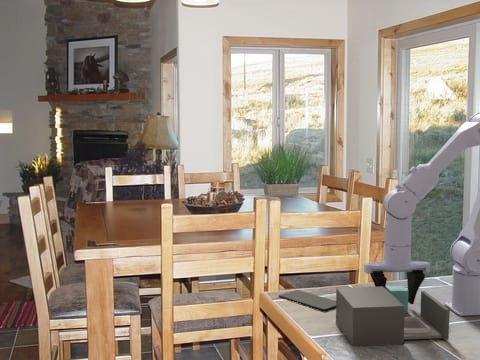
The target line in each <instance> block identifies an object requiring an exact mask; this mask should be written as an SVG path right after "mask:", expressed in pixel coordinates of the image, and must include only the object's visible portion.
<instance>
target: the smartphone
mask: <svg viewBox="0 0 480 360" xmlns="http://www.w3.org/2000/svg"><path fill="white" fill-rule="evenodd" d="M278 298H281V299H284V300H286V299H287V300H286V301H289V300H291V301H290V302H292V301H294V302H293V303H295V302H298V303H301V304H303V305H302V306H304V305H307V306H309V307H308V308H310V307H312V308H311V309H313V308H315V309H314V310H316V309H318V310H317V311H319V310H321V311H320V312H322V311H327V312H329V311H328V310H330V311H332V309H333V310H336V309H335V308H336V300H334V299H332V298H326V297H323V296H321V295H317V294H313V293H311V292H307V291H304V290H299V289H295V290H291V291H287V292H284V293H281V294H279V295H278ZM298 303H297V304H298ZM301 304H300V305H301ZM307 306H306V307H307Z"/></svg>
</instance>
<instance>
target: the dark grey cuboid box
mask: <svg viewBox="0 0 480 360" xmlns="http://www.w3.org/2000/svg"><path fill="white" fill-rule="evenodd" d="M335 295H336V296H335V301H336V309H335V323H336V324H337V326H338V327H339V329H340V330H341V331H342V333H343V334H344V336H345V337H346V339H347V340H348V341H349V342H350V344H351V346H352V347H353V346H354V347H357V346H358V347H360V346H361V347H362V346H381V345H382V346H384V345H404V343H405V341H404V340H405V339H404V317H405V313H406V312H405V306H404V305H403V304H402V303H401V302H400V301H398V300H397V299H396V298H395V297H394V296H393V295H392V294H391V293H389V292H388V291H387V290H386V289H385V288H384V287H383V286H379V287H375V286H357V287H356V286H353V287H351V286H350V287H347V286H346V287H336V291H335Z"/></svg>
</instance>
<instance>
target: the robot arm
mask: <svg viewBox="0 0 480 360" xmlns="http://www.w3.org/2000/svg"><path fill="white" fill-rule="evenodd" d="M478 146H480V112H477V113H474V114H473V115H471V116H470V118H469V119H468V120H467V121H465V122H464V123H462V124H461V125H460V126H459V128H458V129H457V130H456V131H455V132H454V134H453V135H452V136H451V137H450V138H449V139H448V140H447V141H446V142H445V144H444V145H442V147H441V148H440V149H439V150H438V152H437V153H436V154H435V155H434V156H433V157H432V158H431V159H430V160H429V161H428V162H427V163H420V164H418V165H417V166H412V167H411V168H410V169H409V174H407V176H406V177H404V179H403V180H402V181H401V182H400V183H396V184H395V185H394V188H395V189H393V190H390V191H389V192H388V193H386V194H385V195H384V197H383V198H384V200H383V201H382V204H381V205H382V207H383V209H384V210H385V222H384V252H383V255H384V256H383V260H382V261H376V262H367V263H366V262H365V263H364V264H363V272H364V273H365V274H367V275H370V277H371V279H372V282H373V284H374V287H379V286H383V287H384V288H385V287H386V286H387V280H388V278H387V277H386V276H385V274H386V273H406V280H407V290H408V304H409V305H414V304H415V300H416V296H417V293H418V291H419V289H420V287H421V285H422V283H423V282H424V280H425V279H426V274H425V273H430V272H431V263H430V262H428V261H418V260H417V261H416V260H415V261H414V260H411V258H412V255H411V254H412V215H413V214H415V211H416V209H417V204H418V203H420V202H421V201H422V200H423V199H424V198H425V196H427V195H428V194H429V193H430V192H431V190H432V189H433V188H434V187H435V186H437V185H438V183H440V174H441V172H442V171H444V170H445V169H446V168H447V167H448V166H450V165H451V163H453V162H454V161H455V159H457V158H458V157H459V156H460V155H461V154H462V153H463V152H465V150H466V149H469V148H473V147H478ZM469 215H470V216H469V218H468V221H467V224H466V225H465V227H463V228H462V229H461V230H460V232H459V235H458V236H457V239H455V240H454V242H452V244H451V246H450V249H449V254H450V257H451V258H452V260H453V261H454V265H453V266H452V282H451V283H452V284H451V285H452V286H451V301H448V302H447V301H446V302H444V304H443V305H444V306H445V307H447V308H448V309H449V310H451V311H453V312H454V313H455V314H456V315H458V316H462V317H463V316H480V187H479V188H478V191H477V194H476V198H475V201H474V203H473V206H472V209H471V212H470V214H469ZM384 273H385V274H384Z"/></svg>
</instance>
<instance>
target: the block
mask: <svg viewBox="0 0 480 360" xmlns="http://www.w3.org/2000/svg"><path fill="white" fill-rule="evenodd" d="M385 289H386V290H387V291H388V292H389V293H391V294H392V295H393V296H394V297H395V298H396V299H397V300H398V301H400V302H401V303H402V304H403V305H404V306H405V313H409V302H408V288H406V287H405V286H403V285H402V284H401V285H386V287H385Z"/></svg>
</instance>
